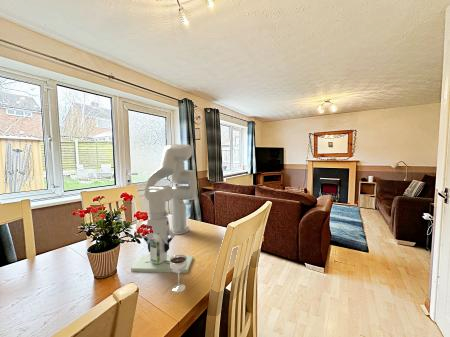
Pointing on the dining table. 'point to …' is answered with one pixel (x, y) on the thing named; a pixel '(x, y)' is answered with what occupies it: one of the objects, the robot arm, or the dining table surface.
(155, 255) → the syrup box
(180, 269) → the wineglass
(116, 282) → the dining table surface
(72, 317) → the dining table surface
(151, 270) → the board
